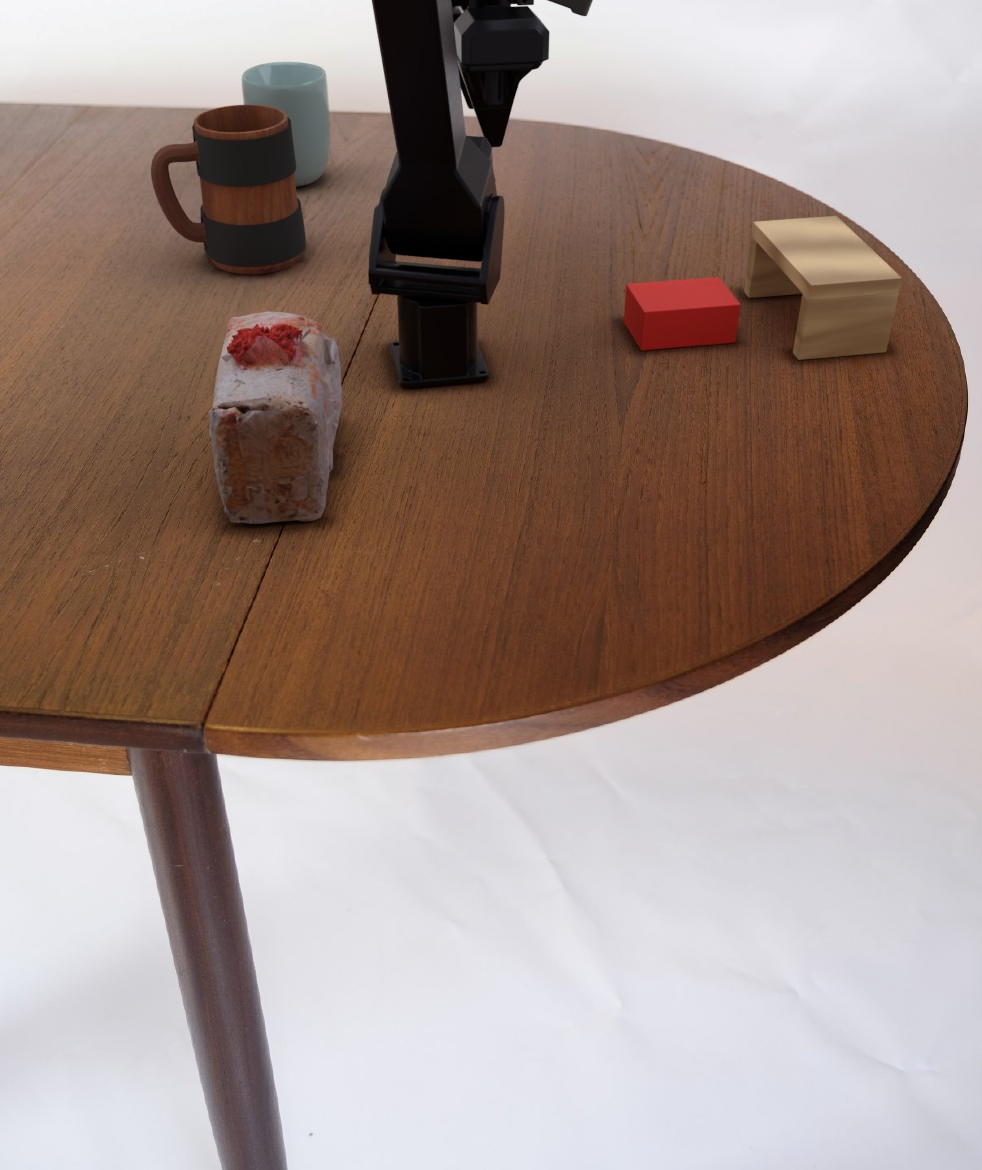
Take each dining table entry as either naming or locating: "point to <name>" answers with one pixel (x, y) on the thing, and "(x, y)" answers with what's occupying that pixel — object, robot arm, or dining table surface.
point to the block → (681, 313)
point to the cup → (296, 109)
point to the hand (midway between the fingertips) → (484, 126)
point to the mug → (239, 189)
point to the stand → (825, 284)
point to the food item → (275, 418)
